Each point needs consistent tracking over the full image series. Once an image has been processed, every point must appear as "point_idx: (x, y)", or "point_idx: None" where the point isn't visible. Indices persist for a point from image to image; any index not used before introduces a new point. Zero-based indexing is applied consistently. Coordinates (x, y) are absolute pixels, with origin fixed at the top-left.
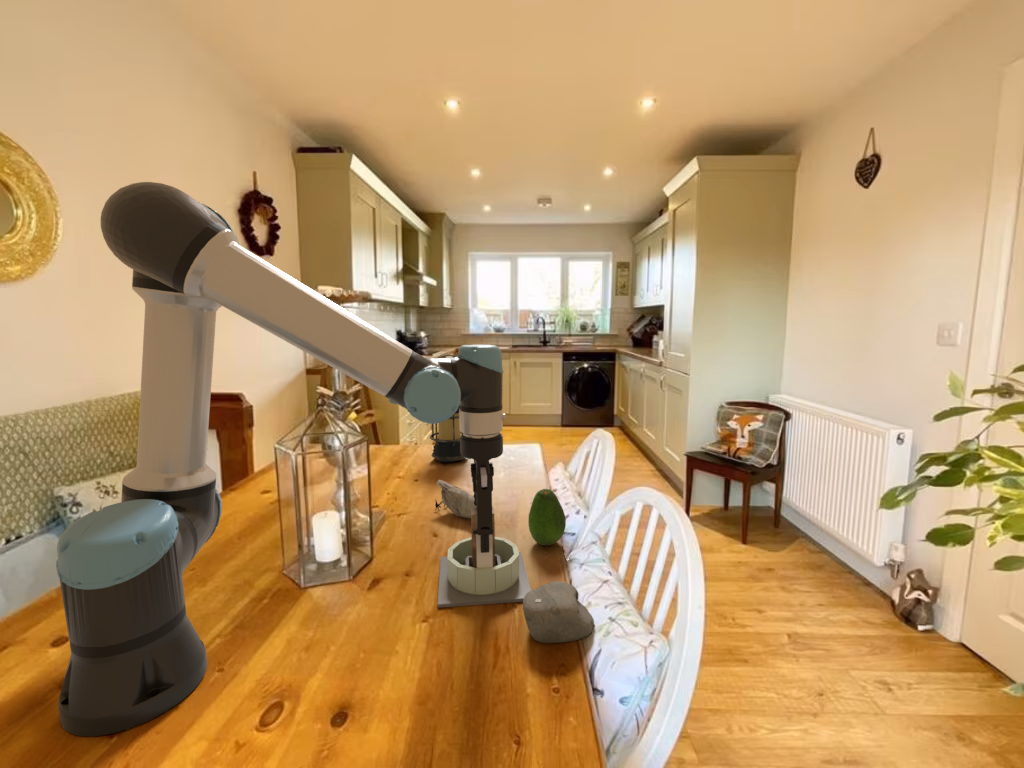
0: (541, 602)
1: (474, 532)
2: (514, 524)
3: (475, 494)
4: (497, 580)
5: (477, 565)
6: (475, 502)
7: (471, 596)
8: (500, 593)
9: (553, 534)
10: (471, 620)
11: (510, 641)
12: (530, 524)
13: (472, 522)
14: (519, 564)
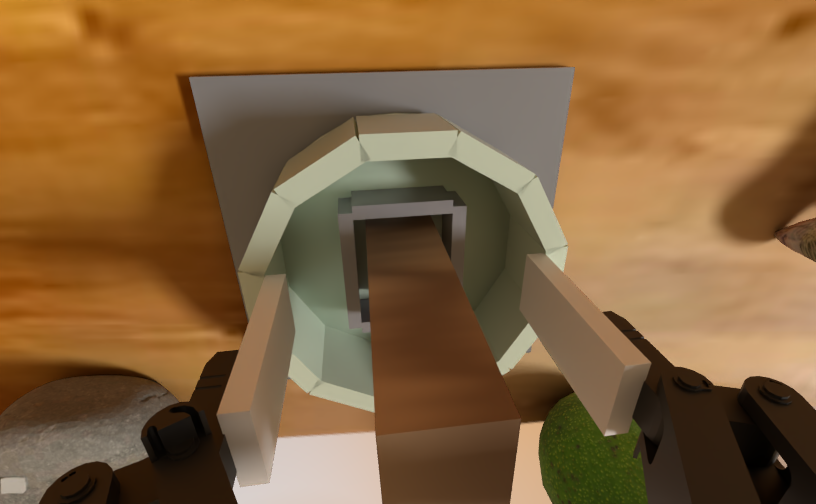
0: (4, 493)
1: (148, 433)
2: (729, 327)
3: (686, 488)
4: None
5: (262, 286)
6: (664, 404)
7: (257, 209)
8: None
9: (541, 470)
10: (132, 208)
11: (47, 321)
12: None
13: (374, 386)
14: None
